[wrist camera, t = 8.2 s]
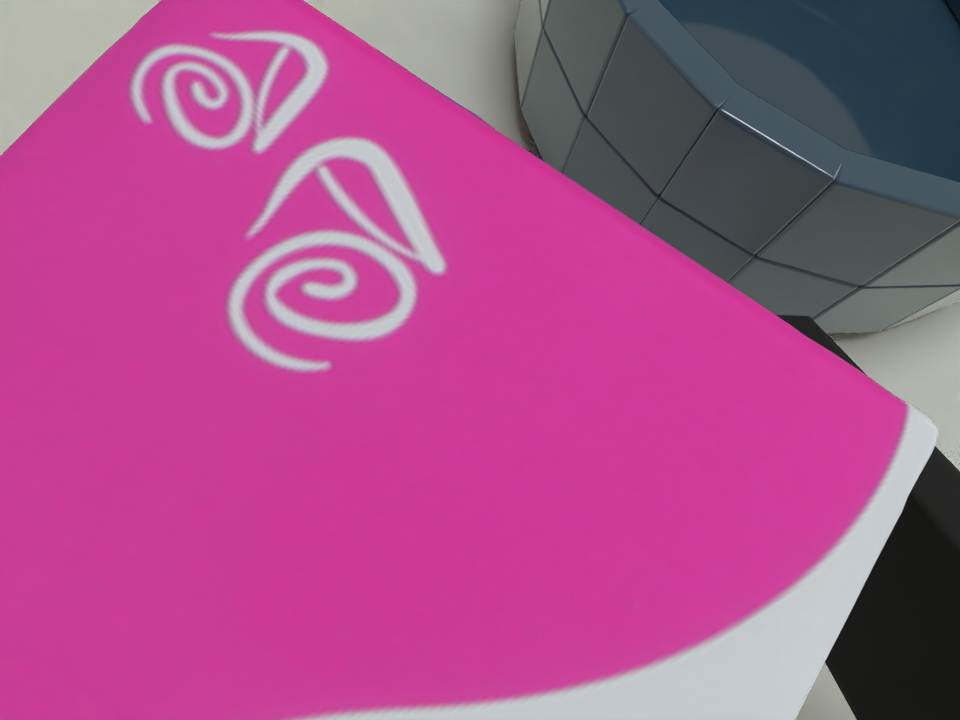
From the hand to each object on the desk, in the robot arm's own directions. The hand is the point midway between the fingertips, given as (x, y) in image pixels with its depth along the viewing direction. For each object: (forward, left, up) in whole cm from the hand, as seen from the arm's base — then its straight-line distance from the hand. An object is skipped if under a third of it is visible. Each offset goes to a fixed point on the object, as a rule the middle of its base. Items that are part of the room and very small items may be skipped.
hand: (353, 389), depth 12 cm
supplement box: (+1, -3, -4) cm, 5 cm away
